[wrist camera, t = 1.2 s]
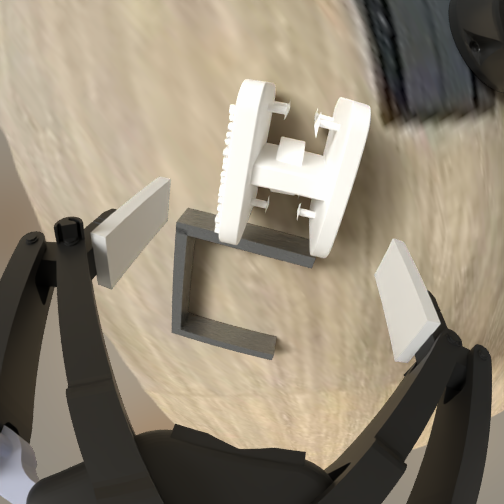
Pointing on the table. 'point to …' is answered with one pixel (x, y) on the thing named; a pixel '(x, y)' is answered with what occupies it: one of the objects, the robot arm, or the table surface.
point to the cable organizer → (289, 165)
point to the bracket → (251, 241)
